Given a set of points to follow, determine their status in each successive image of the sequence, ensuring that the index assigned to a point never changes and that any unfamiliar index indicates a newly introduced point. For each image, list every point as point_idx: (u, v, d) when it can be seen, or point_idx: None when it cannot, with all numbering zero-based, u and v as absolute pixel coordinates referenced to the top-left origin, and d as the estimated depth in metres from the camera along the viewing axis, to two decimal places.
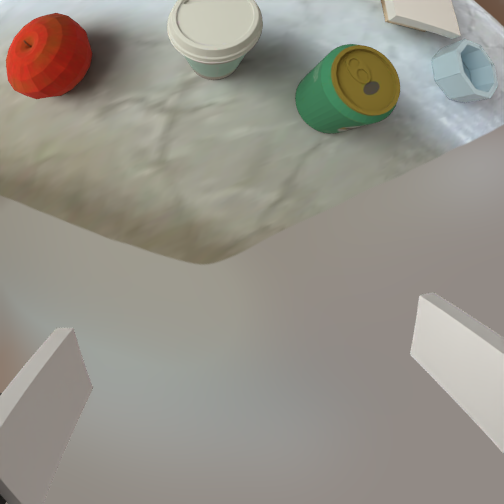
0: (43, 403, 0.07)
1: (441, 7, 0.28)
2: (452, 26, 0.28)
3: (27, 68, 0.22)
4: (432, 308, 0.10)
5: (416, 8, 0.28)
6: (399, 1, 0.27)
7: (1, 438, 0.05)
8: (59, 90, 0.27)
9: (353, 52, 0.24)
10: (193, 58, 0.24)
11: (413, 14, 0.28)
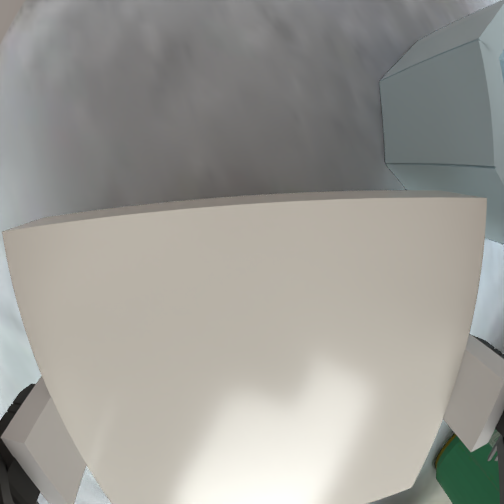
0: None
1: (346, 324, 0.07)
2: (454, 256, 0.06)
3: None
4: None
5: (381, 451, 0.08)
6: (360, 494, 0.08)
7: (41, 426, 0.05)
8: None
9: None
10: None
11: (409, 453, 0.08)
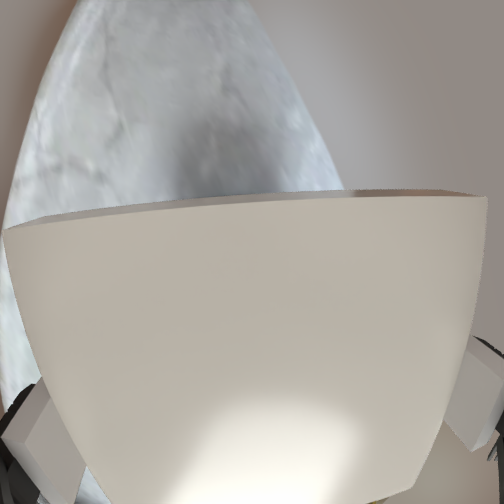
0: None
1: (347, 323, 0.06)
2: (455, 255, 0.06)
3: None
4: None
5: (382, 451, 0.08)
6: (360, 494, 0.08)
7: (41, 426, 0.05)
8: None
9: None
10: None
11: (410, 453, 0.08)
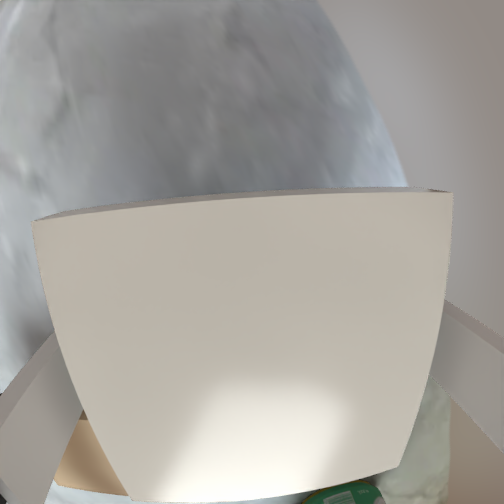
0: (43, 403, 0.07)
1: (325, 300, 0.08)
2: (422, 244, 0.08)
3: None
4: None
5: (365, 424, 0.09)
6: (347, 469, 0.10)
7: (2, 438, 0.05)
8: None
9: None
10: None
11: (392, 429, 0.09)
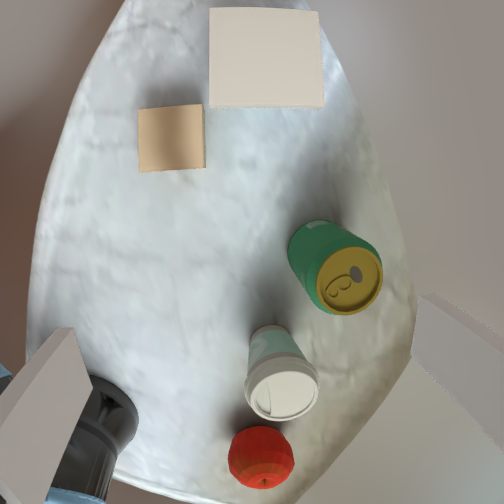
0: (43, 403, 0.07)
1: (281, 28, 0.26)
2: (308, 21, 0.26)
3: (283, 477, 0.39)
4: (432, 308, 0.10)
5: (301, 71, 0.28)
6: (299, 95, 0.28)
7: (1, 438, 0.05)
8: (290, 447, 0.44)
9: (321, 290, 0.30)
10: None
11: (313, 79, 0.28)
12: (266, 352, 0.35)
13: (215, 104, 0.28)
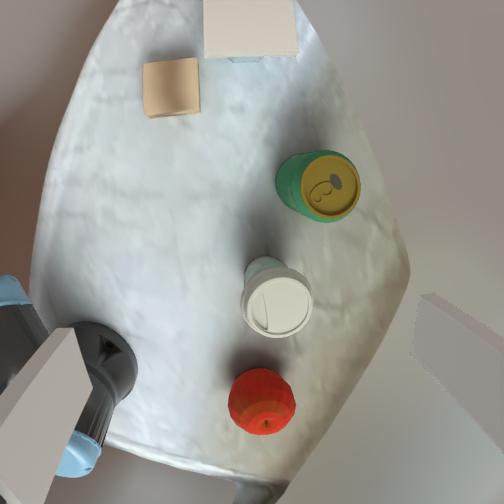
0: (43, 403, 0.07)
1: None
2: None
3: (285, 418, 0.42)
4: (432, 308, 0.10)
5: (278, 26, 0.31)
6: (277, 43, 0.32)
7: (1, 438, 0.05)
8: None
9: (305, 195, 0.33)
10: None
11: (288, 31, 0.32)
12: (260, 269, 0.39)
13: (209, 51, 0.32)
